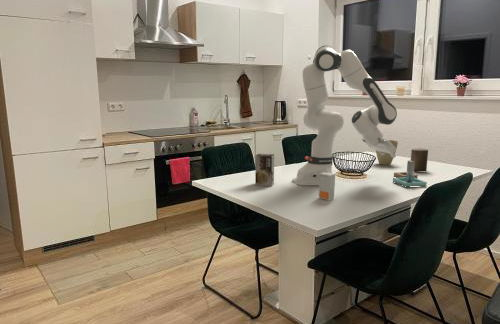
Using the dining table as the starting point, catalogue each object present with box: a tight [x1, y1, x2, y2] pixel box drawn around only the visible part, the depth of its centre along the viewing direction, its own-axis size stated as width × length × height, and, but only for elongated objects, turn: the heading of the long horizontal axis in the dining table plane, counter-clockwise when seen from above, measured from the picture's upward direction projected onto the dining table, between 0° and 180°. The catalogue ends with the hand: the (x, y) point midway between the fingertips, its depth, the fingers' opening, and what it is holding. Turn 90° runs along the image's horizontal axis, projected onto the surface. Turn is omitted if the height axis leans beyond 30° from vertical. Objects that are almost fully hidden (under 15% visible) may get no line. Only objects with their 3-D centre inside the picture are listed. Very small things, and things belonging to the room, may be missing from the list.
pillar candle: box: [410, 147, 429, 172], centre depth 241 cm, size 10×10×15 cm
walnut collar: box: [393, 171, 419, 179], centre depth 220 cm, size 9×9×3 cm
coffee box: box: [254, 153, 275, 187], centre depth 204 cm, size 9×6×16 cm
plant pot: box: [375, 139, 399, 166], centre depth 261 cm, size 15×15×16 cm
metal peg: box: [406, 160, 415, 183], centre depth 206 cm, size 4×4×12 cm
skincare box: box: [318, 172, 336, 201], centre depth 179 cm, size 6×4×12 cm
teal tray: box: [392, 177, 427, 187], centre depth 207 cm, size 12×12×2 cm
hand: (388, 155), depth 206 cm, fingers open, 8 cm apart
